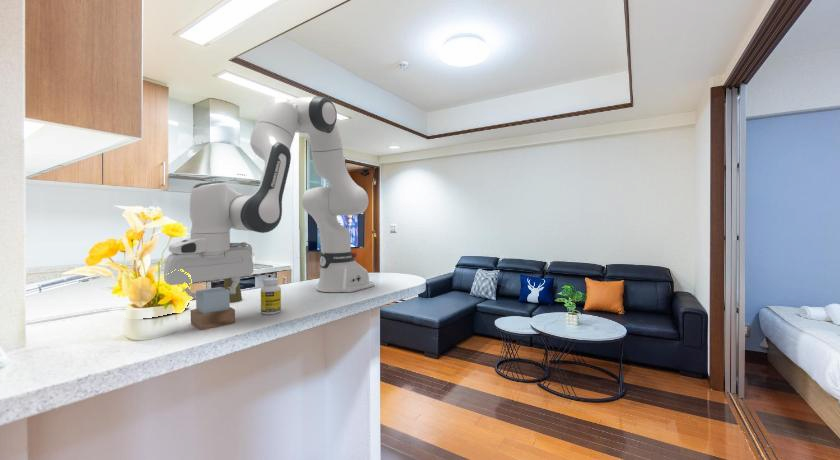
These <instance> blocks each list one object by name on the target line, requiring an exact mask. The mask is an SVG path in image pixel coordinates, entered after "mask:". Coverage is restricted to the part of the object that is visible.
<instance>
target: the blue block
mask: <svg viewBox="0 0 840 460" xmlns="http://www.w3.org/2000/svg"><path fill="white" fill-rule="evenodd" d="M195 293H196V300H195V306H196V308H195V309H196V310H198V311H200V312H202V313H204V314H205V313H211V312H216V311H221V310H227V309H230V307H231V306H230V304H231V303H230V298H229V290H228V289H225V288H223V287H222V286H219V287H218V286H217V287H211V288H204V289H203V288H202V289H196V290H195Z"/></svg>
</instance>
